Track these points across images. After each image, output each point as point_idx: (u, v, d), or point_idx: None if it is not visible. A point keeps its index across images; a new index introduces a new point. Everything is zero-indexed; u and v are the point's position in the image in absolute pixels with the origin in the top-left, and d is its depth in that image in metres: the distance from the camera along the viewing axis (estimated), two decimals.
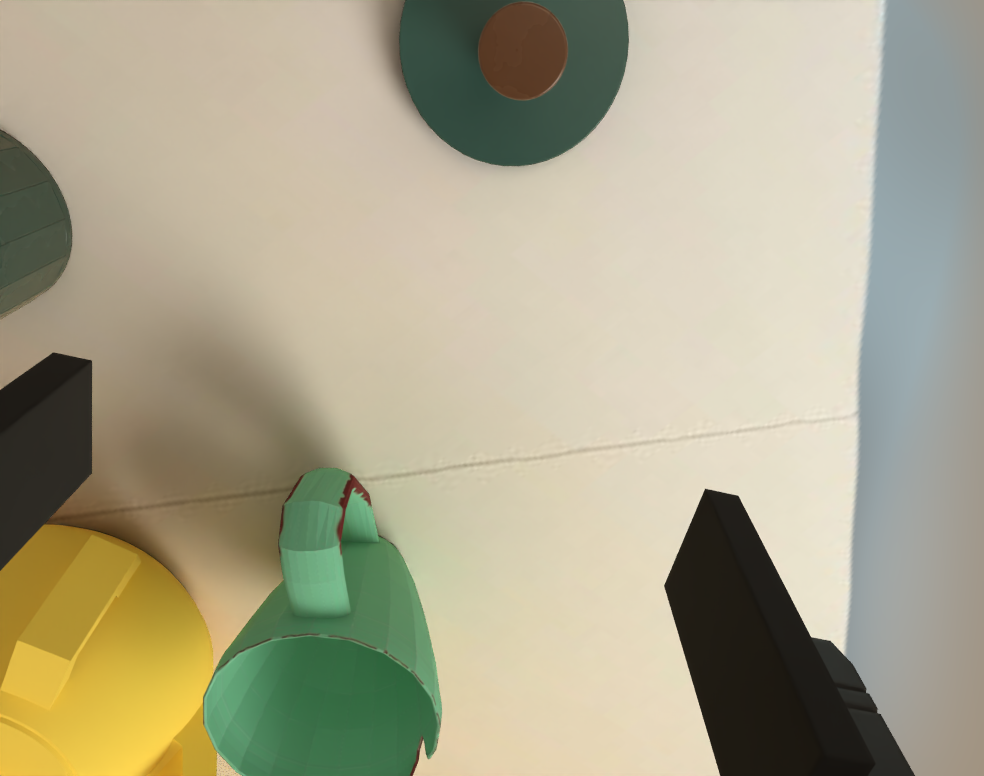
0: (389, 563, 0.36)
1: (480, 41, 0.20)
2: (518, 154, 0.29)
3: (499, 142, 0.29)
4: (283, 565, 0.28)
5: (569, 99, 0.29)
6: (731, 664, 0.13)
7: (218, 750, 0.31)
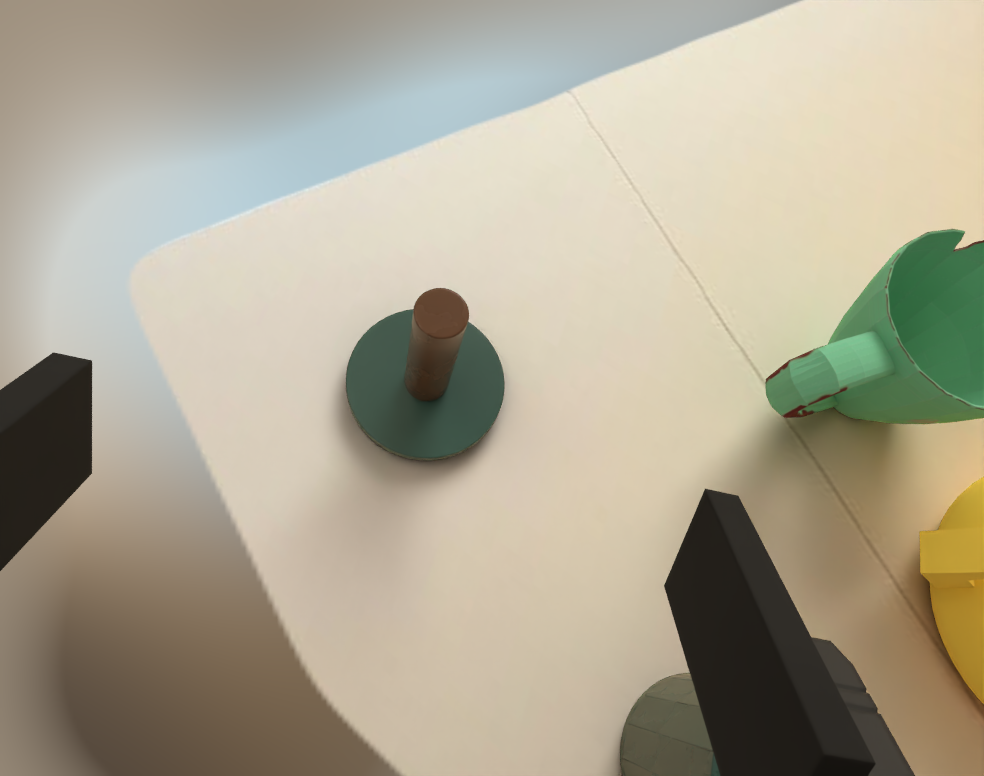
0: None
1: (444, 337, 0.32)
2: (490, 357, 0.41)
3: (487, 371, 0.41)
4: (853, 382, 0.35)
5: None
6: (731, 664, 0.13)
7: None
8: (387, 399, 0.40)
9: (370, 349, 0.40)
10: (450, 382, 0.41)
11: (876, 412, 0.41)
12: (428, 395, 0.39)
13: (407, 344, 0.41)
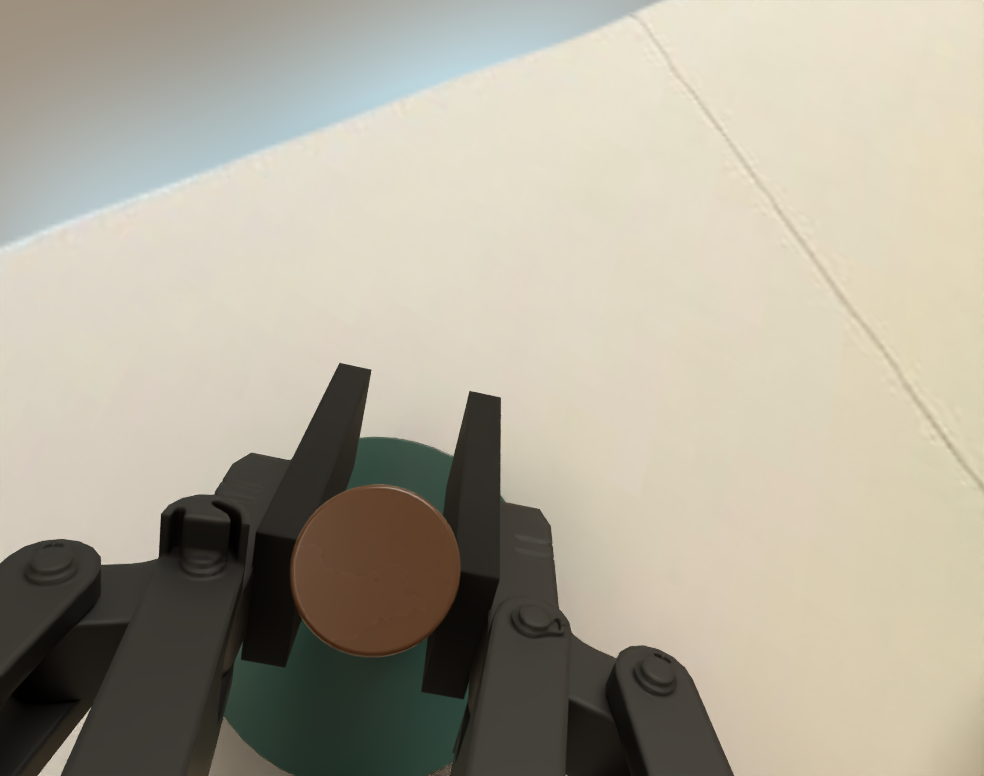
0: None
1: (385, 653, 0.10)
2: None
3: None
4: None
5: None
6: None
7: None
8: None
9: None
10: None
11: None
12: None
13: None
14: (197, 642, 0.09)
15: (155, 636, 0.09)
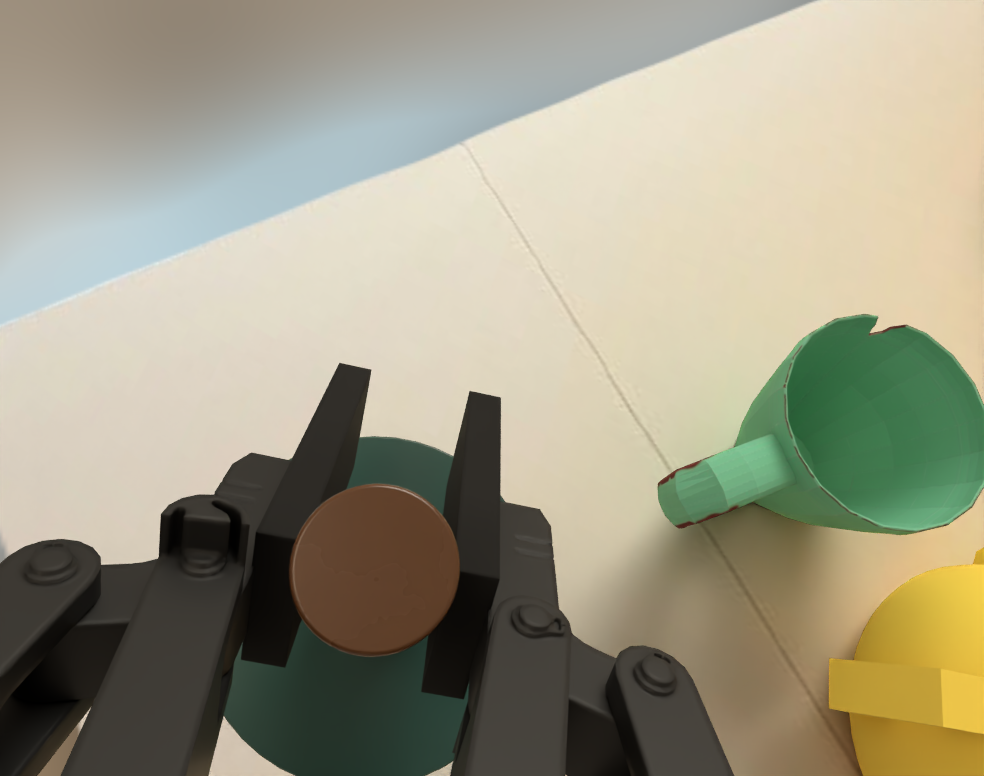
0: (739, 434, 0.38)
1: (385, 653, 0.10)
2: None
3: None
4: (745, 500, 0.31)
5: None
6: None
7: (971, 503, 0.31)
8: None
9: None
10: None
11: (786, 514, 0.36)
12: None
13: None
14: (197, 642, 0.09)
15: (155, 636, 0.09)
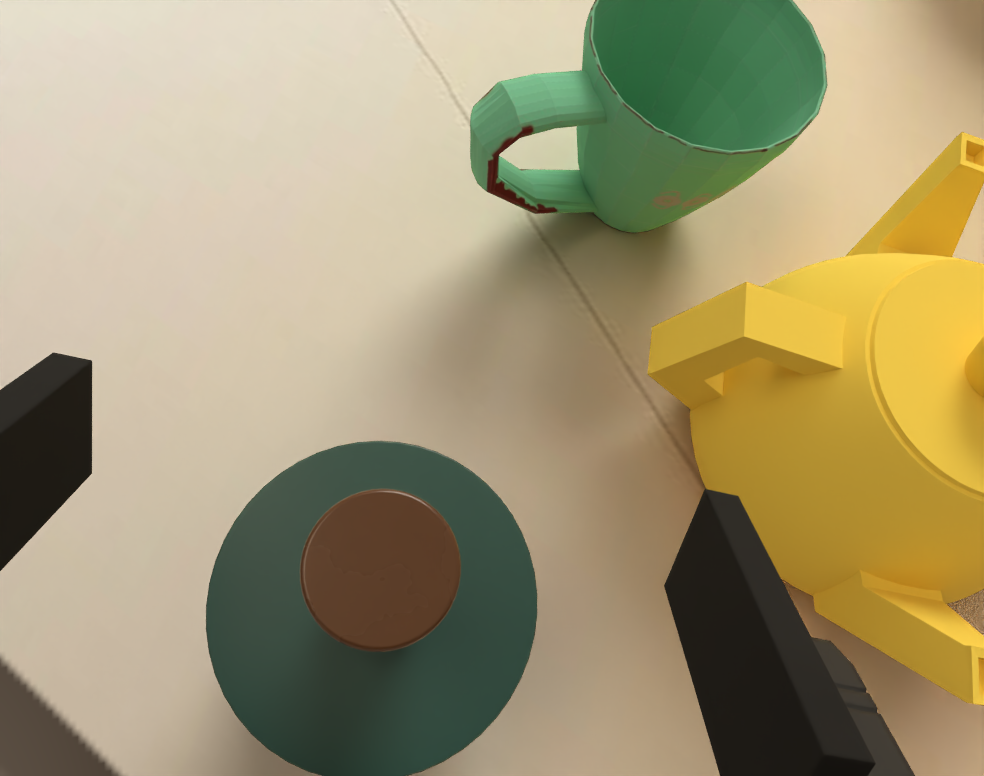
0: None
1: (390, 648, 0.11)
2: (507, 538, 0.21)
3: (501, 571, 0.20)
4: (541, 120, 0.28)
5: None
6: (731, 664, 0.13)
7: (796, 132, 0.28)
8: (294, 647, 0.19)
9: (260, 535, 0.20)
10: None
11: (621, 199, 0.33)
12: None
13: None
14: None
15: None
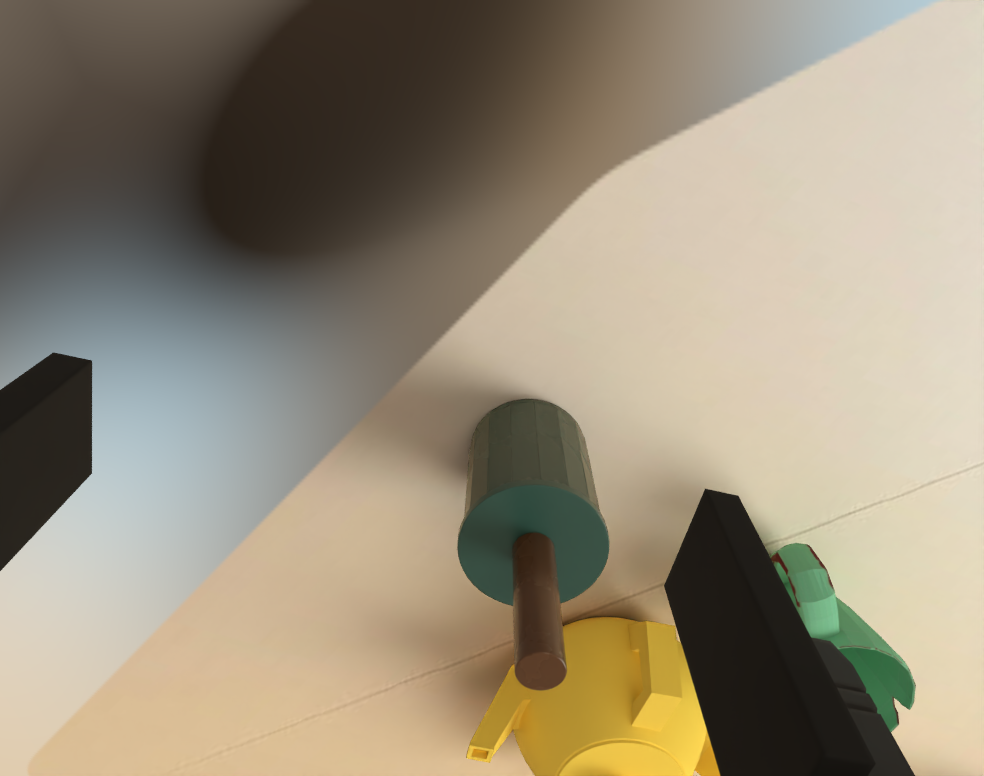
0: None
1: (515, 673, 0.34)
2: None
3: None
4: (802, 612, 0.46)
5: (578, 563, 0.42)
6: (731, 663, 0.13)
7: None
8: (514, 518, 0.41)
9: (566, 504, 0.41)
10: None
11: None
12: (512, 562, 0.41)
13: (571, 534, 0.42)
14: None
15: None
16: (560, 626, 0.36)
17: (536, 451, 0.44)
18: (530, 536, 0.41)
